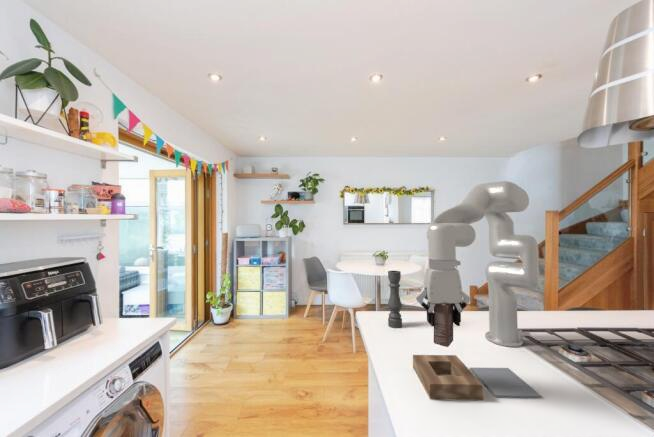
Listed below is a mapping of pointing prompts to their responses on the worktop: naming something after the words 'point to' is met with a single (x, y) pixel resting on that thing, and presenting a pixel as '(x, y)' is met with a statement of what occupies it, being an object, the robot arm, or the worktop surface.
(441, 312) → the box
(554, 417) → the worktop surface
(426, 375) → the pocket block
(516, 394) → the mat
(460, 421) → the worktop surface
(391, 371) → the worktop surface
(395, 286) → the candle holder
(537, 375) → the worktop surface
